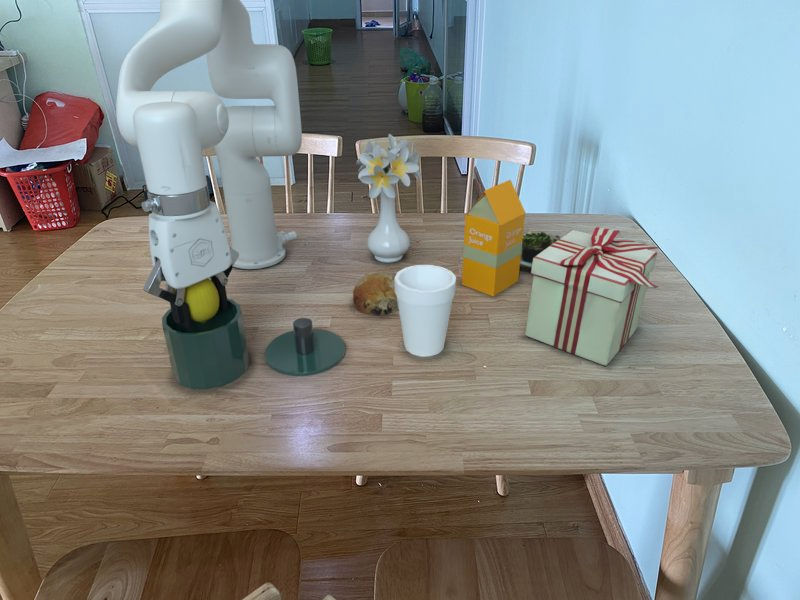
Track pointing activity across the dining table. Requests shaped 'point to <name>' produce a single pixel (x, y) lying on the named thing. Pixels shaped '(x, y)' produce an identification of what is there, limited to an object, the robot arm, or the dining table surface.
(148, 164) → the robot arm
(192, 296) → the lemon
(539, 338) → the gift box
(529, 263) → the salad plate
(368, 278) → the bread roll
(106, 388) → the dining table surface
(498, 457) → the dining table surface
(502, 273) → the orange juice
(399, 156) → the flower vase
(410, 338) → the foam cup
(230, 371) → the pot
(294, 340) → the lid
